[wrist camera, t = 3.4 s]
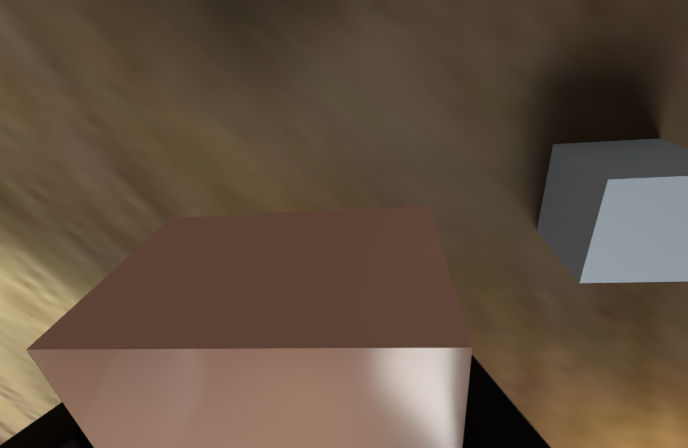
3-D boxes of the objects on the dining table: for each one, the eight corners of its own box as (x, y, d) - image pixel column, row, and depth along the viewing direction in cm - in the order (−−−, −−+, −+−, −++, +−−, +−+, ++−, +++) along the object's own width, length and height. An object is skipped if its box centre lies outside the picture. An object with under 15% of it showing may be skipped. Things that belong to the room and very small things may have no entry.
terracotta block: (429, 206, 8) (472, 347, 4) (425, 390, 11) (450, 567, 7) (170, 218, 9) (26, 349, 5) (230, 388, 11) (164, 550, 8)
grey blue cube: (658, 137, 16) (751, 173, 12) (629, 226, 18) (700, 281, 14) (552, 143, 17) (607, 179, 13) (536, 229, 19) (579, 283, 15)
